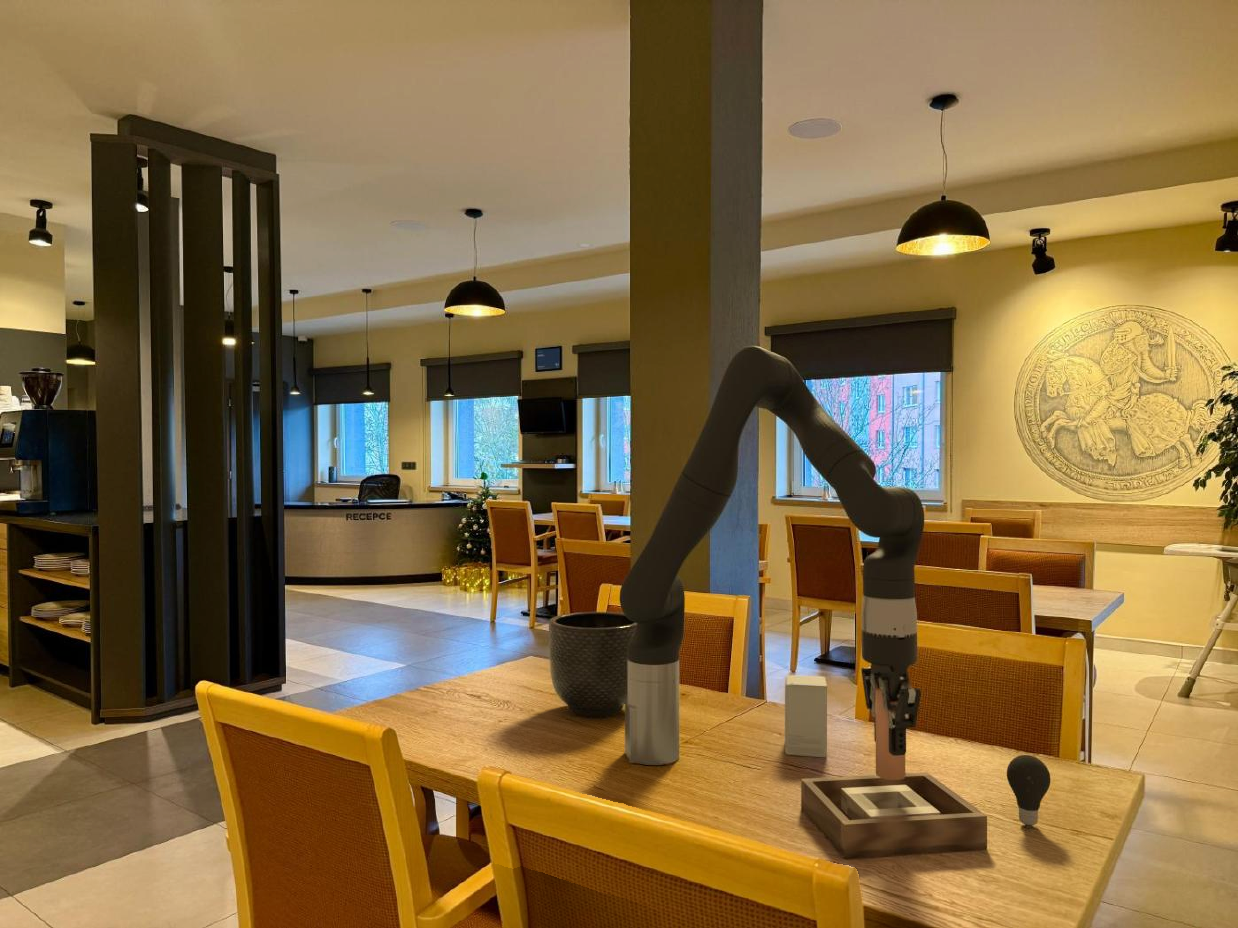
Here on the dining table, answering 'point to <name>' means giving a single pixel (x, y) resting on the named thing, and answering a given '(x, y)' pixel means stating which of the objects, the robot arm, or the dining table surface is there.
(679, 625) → the robot arm
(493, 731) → the dining table surface
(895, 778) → the peg
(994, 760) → the dining table surface
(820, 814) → the box
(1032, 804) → the light bulb
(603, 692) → the planter
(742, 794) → the dining table surface
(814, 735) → the supplement box
